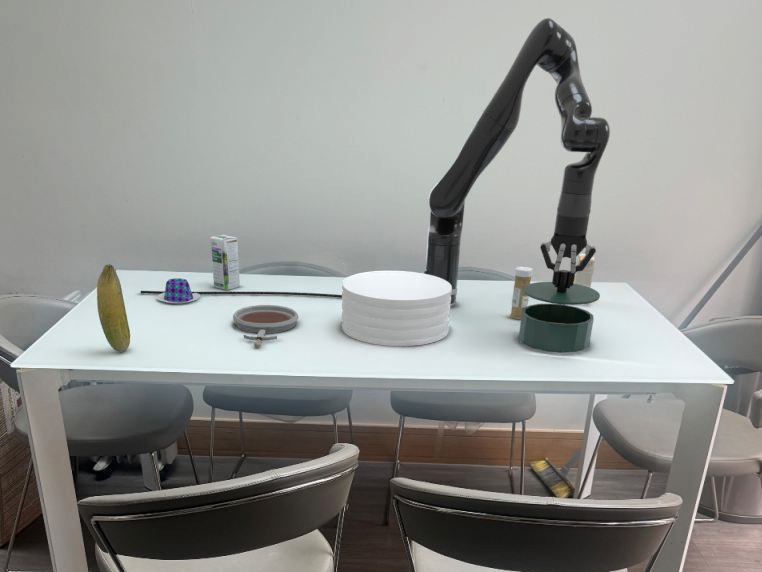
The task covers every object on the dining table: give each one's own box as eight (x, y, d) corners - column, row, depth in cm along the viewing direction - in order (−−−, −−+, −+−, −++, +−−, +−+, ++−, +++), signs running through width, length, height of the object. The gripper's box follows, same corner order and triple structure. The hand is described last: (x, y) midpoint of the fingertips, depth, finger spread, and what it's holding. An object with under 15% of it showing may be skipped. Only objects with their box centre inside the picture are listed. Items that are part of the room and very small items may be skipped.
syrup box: (213, 287, 228) (209, 236, 220) (227, 283, 232) (223, 233, 225) (227, 290, 225) (223, 239, 218) (241, 286, 229) (237, 236, 222)
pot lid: (521, 303, 182) (524, 277, 179) (524, 283, 198) (527, 259, 195) (600, 310, 179) (605, 284, 176) (597, 289, 195) (602, 265, 192)
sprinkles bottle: (527, 320, 210) (534, 270, 203) (511, 319, 210) (517, 270, 203) (524, 315, 214) (530, 266, 207) (508, 314, 214) (514, 265, 207)
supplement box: (587, 305, 224) (595, 260, 217) (571, 304, 225) (578, 258, 218) (587, 298, 231) (594, 253, 224) (571, 296, 232) (578, 252, 225)
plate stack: (324, 335, 193) (323, 290, 187) (366, 307, 216) (367, 265, 210) (428, 352, 185) (431, 305, 179) (461, 321, 207) (465, 278, 201)
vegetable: (124, 357, 176) (111, 269, 165) (99, 355, 177) (84, 267, 166) (136, 348, 181) (124, 262, 170) (111, 346, 182) (98, 260, 171)
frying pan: (220, 338, 182) (237, 302, 206) (221, 350, 184) (238, 313, 207) (292, 340, 183) (300, 304, 206) (292, 352, 184) (301, 314, 208)
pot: (516, 350, 189) (520, 320, 185) (520, 328, 204) (524, 300, 200) (589, 357, 186) (594, 327, 182) (587, 335, 201) (592, 307, 197)
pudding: (207, 295, 221) (205, 276, 218) (190, 306, 211) (188, 287, 208) (167, 291, 222) (165, 273, 220) (149, 303, 212) (147, 284, 209)
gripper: (603, 212, 181) (590, 285, 190) (543, 208, 183) (534, 280, 192) (604, 217, 174) (591, 293, 183) (542, 213, 176) (532, 288, 186)
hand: (562, 286), depth 188 cm, fingers closed on pot lid, 2 cm apart
